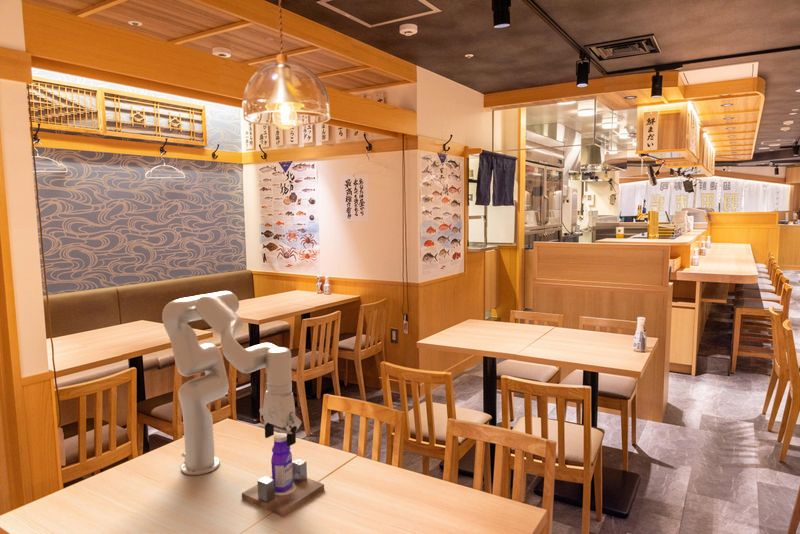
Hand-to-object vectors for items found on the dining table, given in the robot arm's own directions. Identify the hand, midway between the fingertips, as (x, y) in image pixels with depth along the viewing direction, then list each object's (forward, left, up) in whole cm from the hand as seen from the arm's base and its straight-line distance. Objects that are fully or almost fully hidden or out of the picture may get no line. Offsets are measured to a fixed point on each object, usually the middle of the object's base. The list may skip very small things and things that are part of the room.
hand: (280, 440), depth 168 cm
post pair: (+1, 0, -16) cm, 16 cm away
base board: (+1, 0, -18) cm, 18 cm away
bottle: (0, 0, -16) cm, 16 cm away
